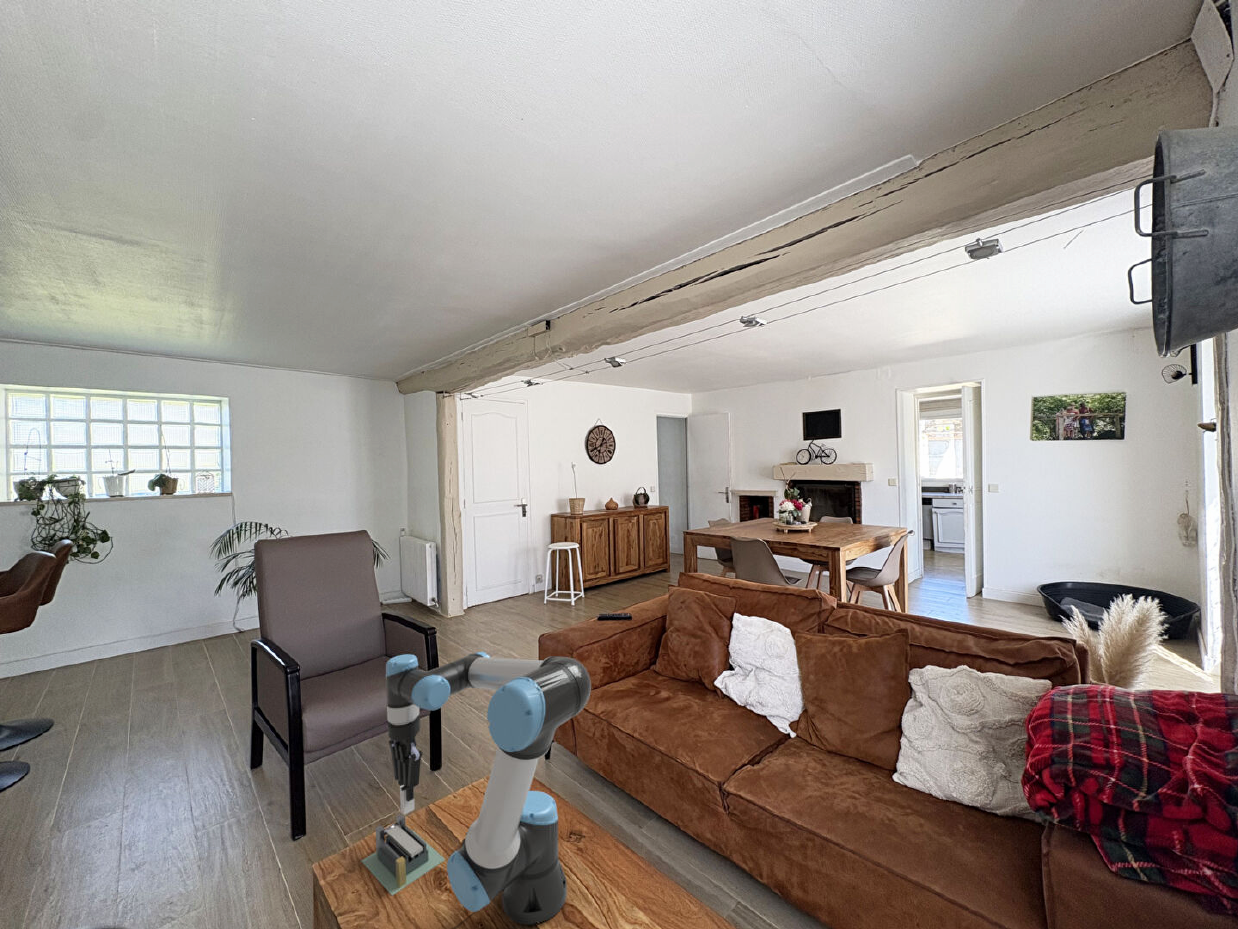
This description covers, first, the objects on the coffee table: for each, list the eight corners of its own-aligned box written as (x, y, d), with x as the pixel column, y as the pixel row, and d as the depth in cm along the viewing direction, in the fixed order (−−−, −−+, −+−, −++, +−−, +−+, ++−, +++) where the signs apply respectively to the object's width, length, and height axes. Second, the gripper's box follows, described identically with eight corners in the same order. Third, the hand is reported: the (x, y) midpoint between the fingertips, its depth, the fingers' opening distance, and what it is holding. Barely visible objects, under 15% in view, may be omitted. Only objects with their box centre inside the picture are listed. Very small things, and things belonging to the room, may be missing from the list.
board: (445, 864, 133) (445, 859, 133) (392, 900, 122) (392, 895, 122) (412, 834, 144) (412, 830, 144) (361, 865, 133) (361, 860, 133)
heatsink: (428, 861, 132) (427, 842, 132) (398, 881, 126) (397, 861, 126) (407, 841, 139) (407, 823, 139) (378, 859, 133) (377, 841, 133)
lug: (406, 883, 125) (405, 859, 125) (399, 888, 124) (398, 863, 124) (402, 880, 126) (402, 856, 126) (396, 884, 125) (395, 860, 125)
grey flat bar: (424, 851, 129) (423, 845, 129) (410, 859, 127) (410, 854, 127) (396, 826, 139) (395, 821, 139) (382, 834, 136) (382, 828, 136)
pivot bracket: (405, 843, 139) (404, 817, 139) (380, 858, 134) (379, 831, 134) (401, 839, 140) (400, 813, 140) (376, 854, 135) (375, 827, 135)
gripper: (431, 720, 129) (435, 813, 129) (405, 705, 138) (409, 793, 138) (402, 732, 123) (406, 830, 123) (377, 716, 132) (381, 808, 132)
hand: (407, 810), depth 130 cm, fingers closed
